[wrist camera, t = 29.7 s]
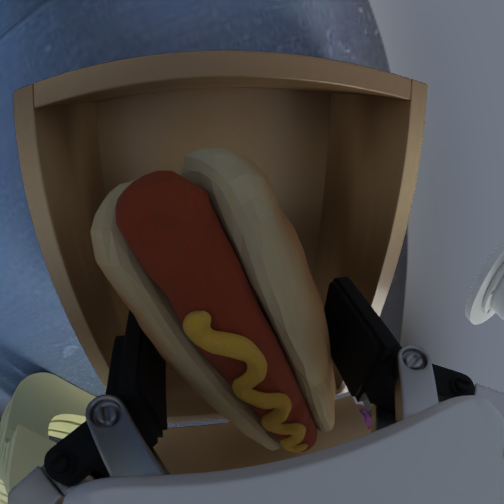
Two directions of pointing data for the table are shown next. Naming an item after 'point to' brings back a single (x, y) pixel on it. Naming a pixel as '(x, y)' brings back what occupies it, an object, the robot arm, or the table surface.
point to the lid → (246, 443)
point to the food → (223, 293)
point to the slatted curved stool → (36, 424)
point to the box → (231, 138)
